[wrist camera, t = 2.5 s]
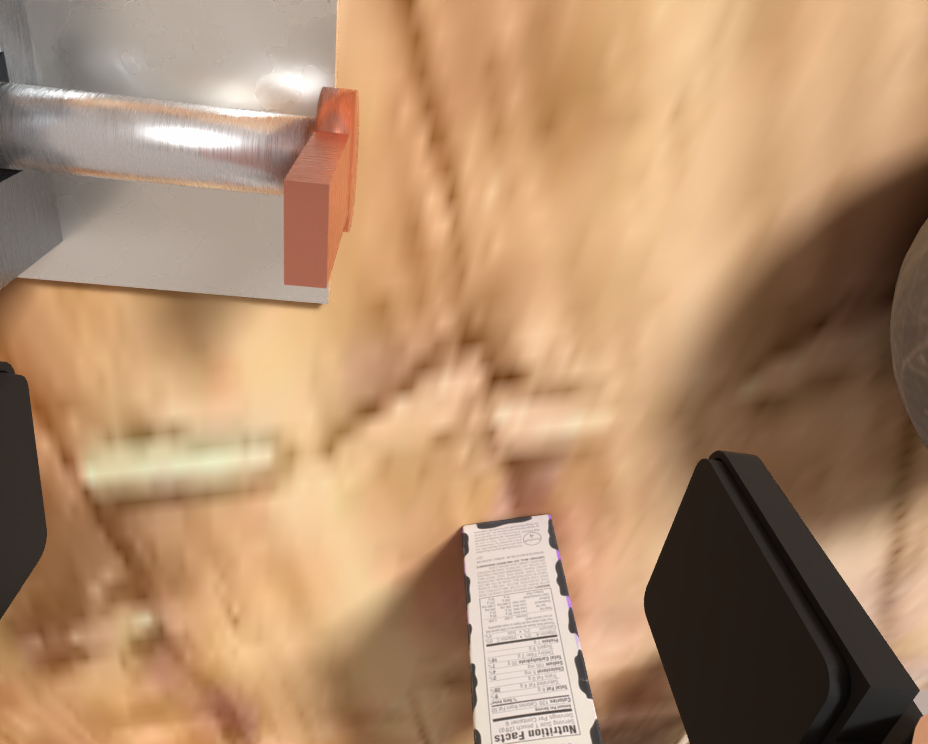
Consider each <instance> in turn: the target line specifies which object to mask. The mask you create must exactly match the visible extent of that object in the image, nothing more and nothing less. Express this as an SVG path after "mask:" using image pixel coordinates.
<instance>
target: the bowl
mask: <svg viewBox="0 0 928 744" xmlns="http://www.w3.org/2000/svg"><path fill="white" fill-rule="evenodd" d="M890 346H891V354H892V364H893V373H894V376H895V380H896V383H897V386H898V389H899V392H900V395H901V398H902V402H903V405H904V408H905V410H906V412H907V414H908V416H909V418H910V420H911V422H912V424H913V426H914V428H915V430H916V432H917V434H918V436H919V437H920V439H921V440H922V442H923V443H924V445H925V446H926V447H927V449H928V219H927V220H926V221H925V223H924V224H923V225H922V227H921V228H920V230H919V232H918V234H917V235H916V237H915V239H914V241H913V243H912V245H911V246H910V248H909V250H908V252H907V254H906V256H905V258H904V260H903V263H902V266H901V269H900V272H899V276H898V279H897V283H896V287H895V293H894V298H893V304H892V310H891V318H890Z"/></svg>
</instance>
